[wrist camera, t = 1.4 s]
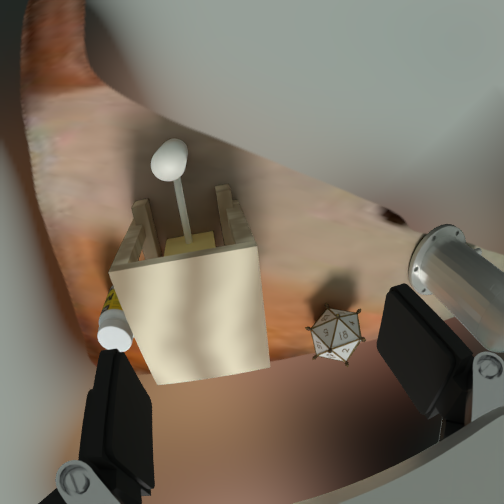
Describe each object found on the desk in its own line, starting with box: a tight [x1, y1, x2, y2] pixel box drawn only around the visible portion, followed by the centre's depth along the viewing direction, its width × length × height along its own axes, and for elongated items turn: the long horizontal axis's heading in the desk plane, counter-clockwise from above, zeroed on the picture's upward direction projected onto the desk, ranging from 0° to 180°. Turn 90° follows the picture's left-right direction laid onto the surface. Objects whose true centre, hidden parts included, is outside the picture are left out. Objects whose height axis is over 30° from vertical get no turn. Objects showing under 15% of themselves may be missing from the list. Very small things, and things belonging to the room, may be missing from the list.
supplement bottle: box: [97, 286, 134, 352], centre depth 34 cm, size 5×5×8 cm
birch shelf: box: [108, 184, 270, 385], centre depth 31 cm, size 12×16×12 cm
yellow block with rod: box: [151, 138, 216, 257], centre depth 31 cm, size 6×17×7 cm, turn 6°
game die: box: [305, 303, 366, 367], centre depth 41 cm, size 9×8×10 cm
